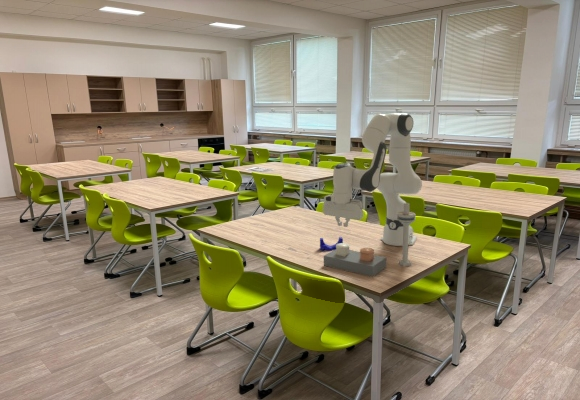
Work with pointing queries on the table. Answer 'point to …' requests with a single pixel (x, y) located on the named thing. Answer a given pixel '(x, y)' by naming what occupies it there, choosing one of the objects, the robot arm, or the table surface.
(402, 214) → the model tower
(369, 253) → the terracotta plunger
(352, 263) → the console
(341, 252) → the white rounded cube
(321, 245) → the cable clip
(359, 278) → the table surface
